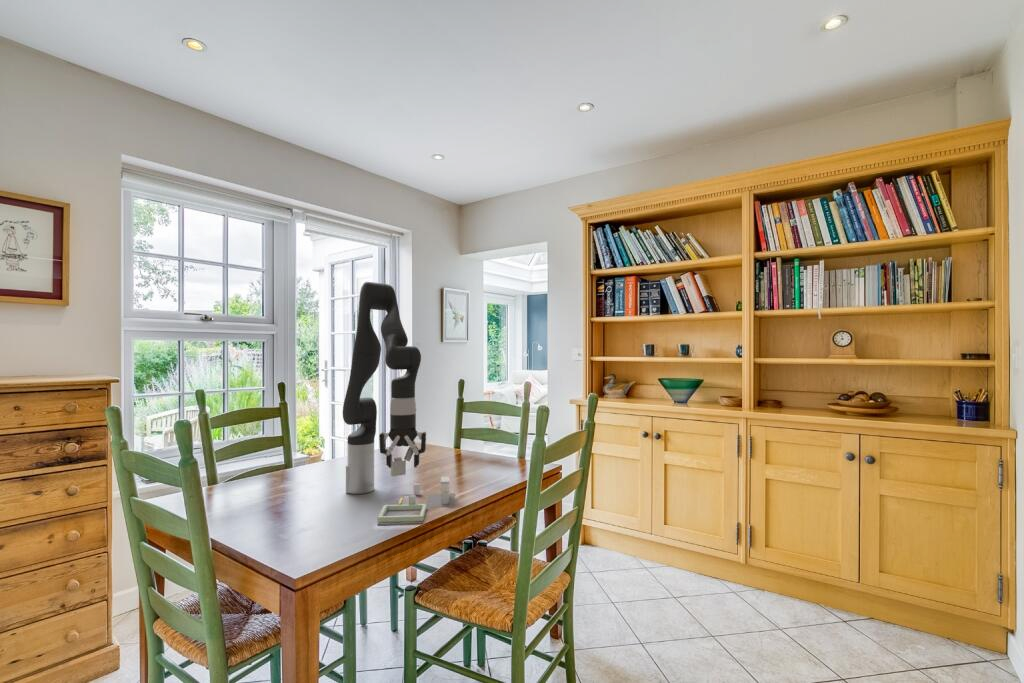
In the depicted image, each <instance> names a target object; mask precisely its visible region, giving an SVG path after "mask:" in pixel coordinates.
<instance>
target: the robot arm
mask: <svg viewBox="0 0 1024 683" xmlns="http://www.w3.org/2000/svg"><path fill="white" fill-rule="evenodd" d="M371 310H374V311H375V310H376V311H385V312H386V315H385V317H384V318H383V320H382V322H381V323H380V325H381V326H380V333H381V336H382V339H383V342H384V344H385V355H384V356H385V358H384V361H385V365H386V366H387V367H388V368H389V370H398V371H399V370H400V371H401V370H406V371H405V373H404V374H403V375H402V376H399V377H395V378H393V379H392V380H391V382H390V383H391V384H390V385H391V386H390V387H391V388H390V392H391V393H390V394H391V395H390V397H391V398H390V407H389V408H390V415H389V417H390V419H389V421H390V422H389V424H390V425H389V427H390V430H389V432H384V431H382V432H380V434H379V438H378V440H379V453H381V454H382V455H385V456H386V458H385V459H386V461H385V462H386V464H385V465H386V466H387V467H388V469H391V461H393V454H392V453H393V451H394V449H395V448H396V447H409V446H410V447H411V449H412V450H413V452H414V453H413V468H417V467H418V466H419V464H420V455H421V454H424V453H425V452H426V450H427V449H426V448H427V445H426V444H427V432H426V431H423V432H418V431H417V428H416V427H417V423H416V422H417V419H416V418H417V417H416V416H417V415H416V414H417V413H416V412H417V405H416V404H417V403H416V382H417V381H416V380H417V376H418V371H419V368H420V365H421V362H422V353H421V351H420V349H419V348H418V347H416V346H411V345H409V346H408V344H409V342H408V341H409V339H408V336H407V333H406V331H405V329H404V326H403V323H402V320H401V317H400V310H399V304H398V300H397V295H396V292H395V289H394V287H393V286H392V285H391V284H388V283H380V282H374V281H364V282H363V283H362V286H361V288H360V293H359V302H358V315H357V316H358V317H357V327H356V333H355V337H354V338H355V340H354V344H353V351H352V358H351V365H350V374H349V380H348V384H347V388H346V394H345V395H344V401H343V406H342V418H343V422H344V423H345V424H346V425H349V426H351V425H352V426H353V425H355V426H356V425H360V426H359V427H358V428H357V429H356V430H355V431H353V432H351V433H349V435H348V436H347V465H346V466H345V494H352V495H360V494H368V493H371V492H374V490H375V437H376V433H377V416H378V415H377V414H378V410H377V404H376V401H375V400H374V398H373V397H370V396H369V397H366V396H365V397H361V395H362V392H363V389H364V388H365V385H366V384H367V382H368V381H369V380H370V379H371V378H372V376H373V375H374V373H375V372H377V371H376V370H377V369H378V367H379V364H380V359H381V355H382V354H381V352H382V346H381V343H380V340H379V338H378V336H377V333H376V332H375V330H374V326H373V324H372V321H371ZM388 437H389V439H390V440H391V442H392V443H391V444H390V446H389V448H388V449H387V448H386V441H387V439H388ZM417 437H418V440H420V448H419V447H418V446H417V443H416V442H415V439H416V438H417Z"/></svg>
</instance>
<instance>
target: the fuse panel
mask: <svg viewBox="0 0 1024 683" xmlns="http://www.w3.org/2000/svg"><path fill="white" fill-rule="evenodd" d="M405 496H407V497H408V504H417V503H416V501H417V500H416V496H427V500H426V502H425V504H426V509H427V508H430V509H431V508H432V509H433V508H454V507H455V506H454V505H455V498H456V497H455V496H456V493H455V492H454V493H452V492H450V498H449V503H448V492H442V493H441V492H440V493H421V483H414V484H413V494H401V496H400V498H399V501H398V503H397V505H402V502H403V500H404V498H405Z"/></svg>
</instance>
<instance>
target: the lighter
mask: <svg viewBox="0 0 1024 683" xmlns="http://www.w3.org/2000/svg"><path fill="white" fill-rule="evenodd" d="M414 454H415V453H414V452H413V450H412V449H411V447H410V446H408V449H407V451H406V453H405V455H404V457H402V456H396V457H394V458H393V459H392V461H391V468H390V476H391V477H398V476H405V475H406V472H407V470H406V466H407V465H406V464H407V463H406V462H410V461H411V460H412V456H414Z"/></svg>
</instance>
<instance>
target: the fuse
mask: <svg viewBox="0 0 1024 683" xmlns="http://www.w3.org/2000/svg"><path fill="white" fill-rule="evenodd" d="M450 478H451V476H441V478H440V494H441V493H442V492H448V503H449V498H450V493H451V492H450V491H451V490H450V488H451V486H450V483H451V482H450V481H451V479H450Z"/></svg>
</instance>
